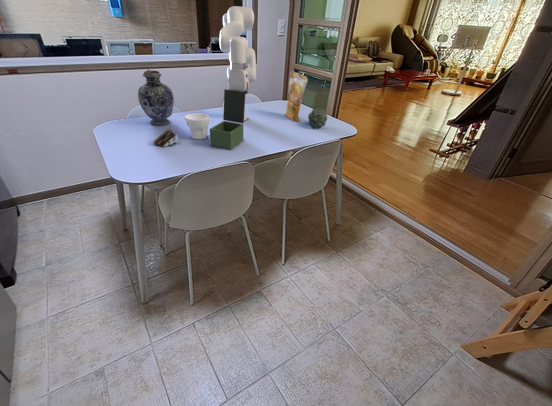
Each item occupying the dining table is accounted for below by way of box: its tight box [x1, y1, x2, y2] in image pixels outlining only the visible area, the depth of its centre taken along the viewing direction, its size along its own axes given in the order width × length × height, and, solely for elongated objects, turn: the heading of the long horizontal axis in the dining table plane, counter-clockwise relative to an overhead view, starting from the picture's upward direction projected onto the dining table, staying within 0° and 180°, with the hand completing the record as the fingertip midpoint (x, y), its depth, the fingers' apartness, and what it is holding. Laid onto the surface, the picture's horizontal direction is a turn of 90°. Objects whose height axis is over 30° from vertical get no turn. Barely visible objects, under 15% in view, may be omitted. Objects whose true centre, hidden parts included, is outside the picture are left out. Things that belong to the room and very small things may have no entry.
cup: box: [184, 112, 210, 140], centre depth 153 cm, size 12×12×11 cm
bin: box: [209, 120, 244, 151], centre depth 149 cm, size 15×12×9 cm
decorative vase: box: [137, 69, 175, 126], centre depth 163 cm, size 21×19×28 cm
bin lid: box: [222, 89, 246, 124], centre depth 149 cm, size 15×12×1 cm
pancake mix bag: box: [285, 70, 309, 122], centre depth 186 cm, size 7×19×28 cm, turn 26°
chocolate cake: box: [152, 126, 180, 148], centre depth 145 cm, size 10×7×12 cm
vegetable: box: [307, 107, 328, 129], centre depth 180 cm, size 12×13×15 cm
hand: (238, 104), depth 153 cm, fingers closed
